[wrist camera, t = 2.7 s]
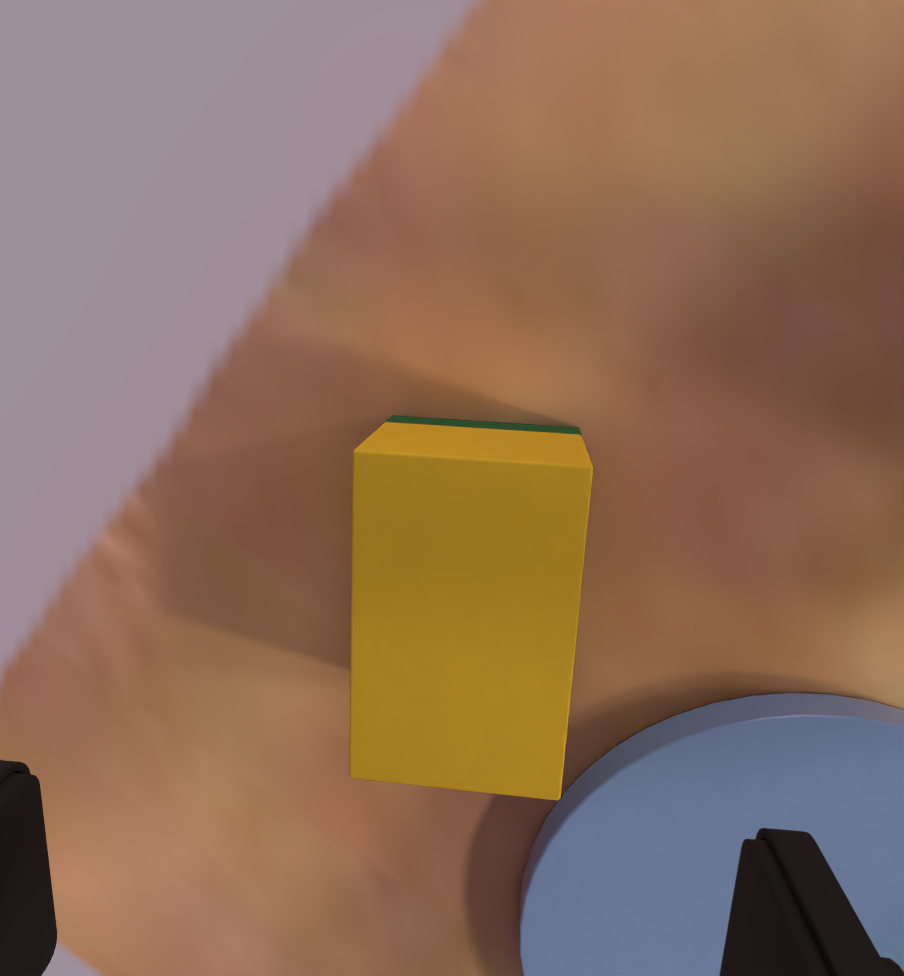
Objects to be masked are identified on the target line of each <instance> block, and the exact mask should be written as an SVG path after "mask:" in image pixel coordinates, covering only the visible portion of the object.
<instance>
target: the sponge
mask: <svg viewBox="0 0 904 976" xmlns="http://www.w3.org/2000/svg"><path fill="white" fill-rule="evenodd" d="M592 477H593V466H592V463H591V461H590V458H589V455H588V452H587V449H586V447H585V444H584V441H583V438H582V435H581V432H580V429H579V428H578V427H563V426H548V425H532V424H516V423H501V422H485V421H469V420H454V419H438V418H422V417H407V416H391V417H390V418H389V419H388V420H387V421H386V422H385V423H384V424H382V425H381V426H380V427H379V428H378V429H377V430H376V431H375V432H373V433H372V434H371V435H370V436H369V437H368V438H367V439H366V440H364V441H363V442H362V443H361V444H360V445H359V446H358V447H357V448H355V449H354V451H353V481H352V567H351V653H350V739H349V776H350V778H353V779H363V780H372V781H381V782H390V783H400V784H409V785H418V786H427V787H437V788H446V789H455V790H465V791H474V792H483V793H492V794H502V795H511V796H520V797H529V798H539V799H548V800H559V799H560V798H561V788H562V778H563V768H564V758H565V748H566V738H567V728H568V718H569V708H570V698H571V688H572V678H573V668H574V658H575V648H576V638H577V628H578V618H579V607H580V597H581V587H582V577H583V567H584V557H585V547H586V537H587V527H588V517H589V507H590V497H591V487H592Z"/></svg>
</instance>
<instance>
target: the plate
mask: <svg viewBox="0 0 904 976" xmlns="http://www.w3.org/2000/svg"><path fill="white" fill-rule="evenodd" d="M761 828H771V829H783V830H794V831H805V832H808V833H809V834H811V835H812V837H813V838H814V839H815V841H816V843H817V845H818V846H819V848H820V850H821V852H822V854H823V855H824V857H825V859H826V861H827V863H828V864H829V866H830V868H831V870H832V871H833V873H834V875H835V877H836V879H837V880H838V882H839V884H840V886H841V888H842V889H843V891H844V893H845V895H846V896H847V898H848V900H849V902H850V904H851V905H852V907H853V909H854V911H855V913H856V914H857V916H858V918H859V920H860V922H861V923H862V925H863V927H864V929H865V930H866V932H867V934H868V936H869V938H870V939H871V941H872V943H873V945H874V947H875V948H876V950H877V952H878V954H879V955H880V957H885V958H890V959H892V960H893V961H894V962H896V963H897V964H898V965H899V966H900V967H901V969H902V970H903V971H904V710H903V709H899V708H895V707H892V706H888V705H884V704H881V703H877V702H873V701H870V700H864V699H858V698H851V697H844V696H838V695H831V694H809V693H781V694H768V695H755V696H747V697H742V698H737V699H732V700H726V701H721V702H716V703H712V704H708V705H705V706H702V707H699V708H696V709H692V710H689V711H686V712H683V713H680V714H677V715H675V716H672V717H670V718H668V719H666V720H663V721H661V722H659V723H657V724H654V725H652V726H650V727H648V728H645V729H643V730H642V731H640V732H638V733H637V734H635V735H633V736H632V737H630V738H628V739H627V740H625V741H623V742H622V743H620V744H618V745H617V746H615V747H614V748H612V749H611V750H610V751H609V752H607V753H606V754H605V755H604V756H602V757H601V758H600V759H599V760H597V761H596V762H595V763H593V764H592V765H591V766H590V767H588V768H587V769H586V770H585V771H584V772H583V774H582V775H581V776H580V777H579V778H578V779H577V780H576V781H575V782H574V783H573V784H572V785H571V786H570V787H569V788H568V789H567V790H566V791H565V793H564V794H563V795H562V797H561V798H560V800H559V801H558V802H557V804H556V805H555V806H554V808H553V809H552V811H551V812H550V813H549V815H548V816H547V818H546V820H545V822H544V824H543V826H542V828H541V829H540V831H539V833H538V835H537V837H536V839H535V841H534V843H533V846H532V849H531V852H530V855H529V858H528V861H527V864H526V867H525V870H524V876H523V882H522V888H521V894H520V932H519V953H520V959H521V966H522V972H523V976H719V975H720V969H721V963H722V957H723V951H724V945H725V940H726V934H727V928H728V922H729V916H730V910H731V904H732V899H733V893H734V887H735V881H736V875H737V869H738V863H739V858H740V852H741V847H742V843H743V841H744V840H745V839H755V838H756V835H757V832H758V831H759V829H761Z"/></svg>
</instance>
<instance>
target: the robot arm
mask: <svg viewBox="0 0 904 976" xmlns="http://www.w3.org/2000/svg"><path fill="white" fill-rule="evenodd" d="M56 941H57V928H56V919H55V911H54V902H53V894H52V885H51V876H50V868H49V859H48V850H47V842H46V833H45V825H44V816H43V807H42V799H41V790H40V783H39V780H38V778H37V777H36V776H35V775H31V774H30V770H29V768H28V767H27V765H26V764H25V763H22V762H14V761H3V760H0V976H41V975H42V974H43V972H44V971H45V969H46V968H47V966H48V964H49V963H50V960H51V958H52V956H53V953H54V950H55V947H56ZM719 976H904V971H903V970H902V969H901V967H900V966H899V965H898V964H897V963H896V962H894V961H893V960H892V959H890V958H885V957H880V955H879V954H878V952H877V950H876V948H875V947H874V945H873V943H872V941H871V939H870V938H869V936H868V934H867V932H866V930H865V929H864V927H863V925H862V923H861V922H860V920H859V918H858V916H857V914H856V913H855V911H854V909H853V907H852V905H851V904H850V902H849V900H848V898H847V896H846V895H845V893H844V891H843V889H842V888H841V886H840V884H839V882H838V880H837V879H836V877H835V875H834V873H833V871H832V870H831V868H830V866H829V864H828V863H827V861H826V859H825V857H824V855H823V854H822V852H821V850H820V848H819V846H818V845H817V843H816V841H815V839H814V838H813V837H812V835H811V834H809V833H808V832H805V831H794V830H783V829H771V828H761V829H759V831H758V832H757V835H756V838H755V839H745V840H744V841H743V843H742V847H741V852H740V858H739V863H738V869H737V875H736V881H735V887H734V893H733V899H732V904H731V910H730V916H729V922H728V928H727V934H726V940H725V945H724V951H723V957H722V963H721V969H720V975H719Z"/></svg>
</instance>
